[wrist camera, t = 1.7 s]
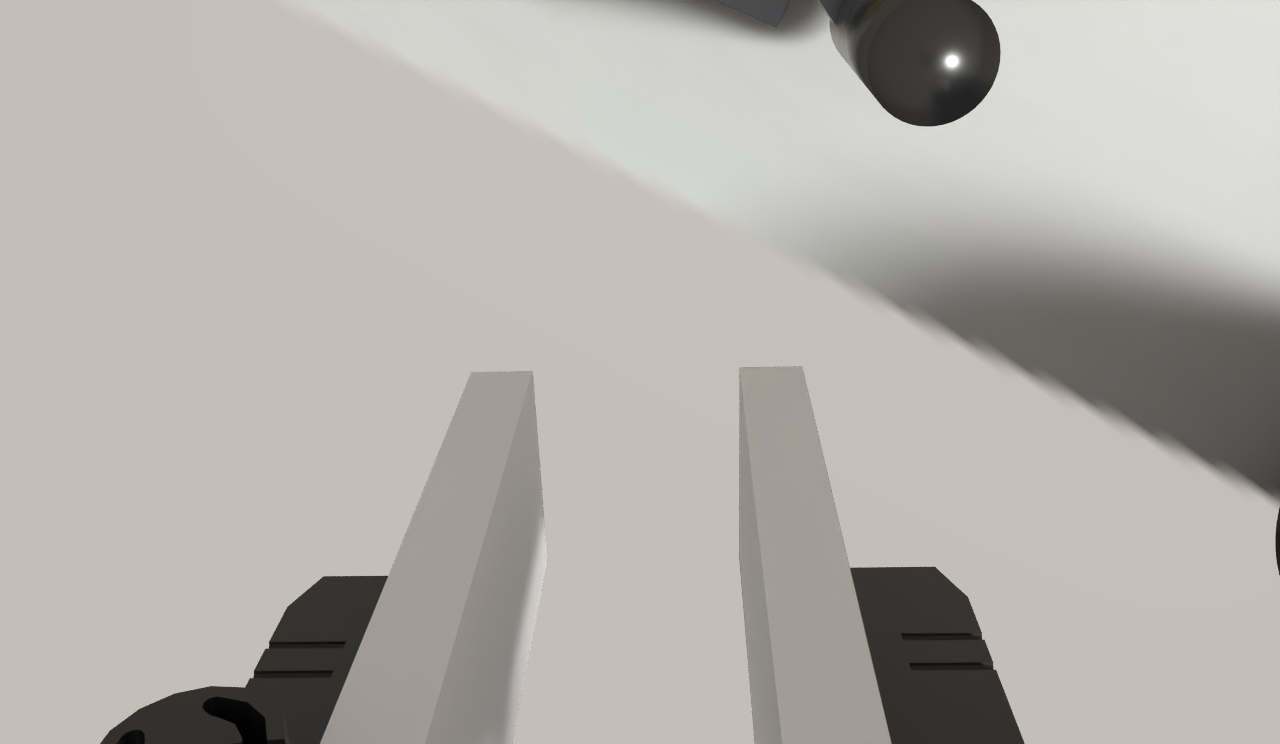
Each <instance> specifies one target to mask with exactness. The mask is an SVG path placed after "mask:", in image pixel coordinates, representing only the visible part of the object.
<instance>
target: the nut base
mask: <svg viewBox="0 0 1280 744" xmlns="http://www.w3.org/2000/svg"><path fill="white" fill-rule="evenodd" d="M717 1H719V2H721V3H723V4H726V5H728V6H730V7H732V8H735V9H737V10H739V11H741V12H743V13H746V14H748V15H750V16H752V17H754V18H757V19H759V20H761V21H763V22H765V23H768V24H770V25H772V26H774V27H776V28H777V26H778V24H779V22H780V20H781V18H782V16H783V13H784V11H785V9H786V7H787V5H788V2H789V0H717Z"/></svg>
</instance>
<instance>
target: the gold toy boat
mask: <svg viewBox="0 0 1280 744" xmlns="http://www.w3.org/2000/svg"><path fill="white" fill-rule="evenodd" d="M817 1H818V2H819V4H820V5H821V7H822V8H823V10H824V11H825V13H826V14H827V16H828V17H829V19H830V32H831V36H832V40H833V42H834V45H835V47H836V48H837V50H838V52H839V53H840V54H841V56H842V57H843V58H844V59H845V61H846V62H847V63H848V64H849V66H850V67H851V68H852V69H853V71H854V72H855V73H856V74H857V76H858V77H859V78H860V79H861V81H862V82H863V83H864V84H865V86H866V87H867V88H868V89H869V91H870V92H871V93H872V94H873V95H874V97H875V98H876V99H877V100H878V102H879V103H880V104H881V105H882V107H883V108H884V109H885V110H886V111H887V112H888V113H890V114H891V115H893V116H894V117H895V118H897V119H899V120H901V121H903V122H906V123H909V124H912V125H917V126H938V125H943V124H947V123H950V122H953V121H955V120H957V119H959V118H961V117H963V116H964V115H966V114H968V113H969V112H970V111H972V110H973V109H974V108H975V107H976V106H977V105H978V104H979V103H980V102H981V101H982V100H983V99H984V98H985V96H986V95H987V93H988V92H989V90H990V89H991V87H992V85H993V83H994V81H995V78H996V75H997V72H998V68H999V63H1000V42H999V37H998V34H997V31H996V28H995V26H994V24H993V22H992V20H991V19H990V17H989V16H988V14H987V13H986V12H985V11H984V10H983V9H982V8H981V7H980V6H979V5H977V4H976V3H975V2H973V1H972V0H817Z"/></svg>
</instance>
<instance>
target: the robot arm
mask: <svg viewBox="0 0 1280 744" xmlns="http://www.w3.org/2000/svg"><path fill="white" fill-rule="evenodd" d="M739 440H740V444H739V445H740V446H739V447H740V448H739V450H740V454H739V457H740V458H739V464H740V465H739V469H740V470H739V475H740V477H739V488H740V489H739V492H740V493H739V496H740V497H739V498H740V499H739V504H740V505H739V512H740V513H739V514H740V515H739V519H740V520H739V523H740V524H739V559H740V572H741V584H742V595H743V608H744V620H745V632H746V644H747V657H748V668H749V681H750V693H751V704H752V716H753V729H754V741H755V744H1024V741H1023V739H1022V736H1021V733H1020V731H1019V728H1018V726H1017V723H1016V721H1015V718H1014V716H1013V713H1012V710H1011V708H1010V705H1009V702H1008V700H1007V697H1006V694H1005V692H1004V689H1003V687H1002V684H1001V682H1000V679H999V677H998V674H997V671H996V670H994V669H993V661H992V658H991V656H990V653H989V651H988V648H987V645H986V643H985V640H982V632H981V630H980V627H979V625H978V622H977V620H976V617H975V614H974V612H973V609H972V607H971V604H970V602H969V599H968V597H967V596H966V595H965V594H964V593H963V592H962V591H961V590H959V589H958V588H957V587H956V586H955V585H954V584H953V583H952V582H951V581H950V580H949V579H947V578H946V577H945V576H944V575H943V574H942V573H941V572H940V571H939V570H938V569H937V568H936V567H885V568H884V567H883V568H882V567H881V568H880V567H878V568H850V566H849V562H848V558H847V554H846V550H845V546H844V541H843V537H842V533H841V529H840V524H839V520H838V516H837V512H836V507H835V503H834V499H833V495H832V490H831V486H830V482H829V478H828V474H827V469H826V465H825V461H824V457H823V453H822V448H821V444H820V440H819V436H818V431H817V427H816V423H815V419H814V414H813V410H812V406H811V402H810V398H809V394H808V390H807V385H806V381H805V376H804V372H803V368H802V367H745V368H740V438H739ZM1276 557H1277V565H1278V570H1279V575H1280V508H1279V513H1278V520H1277V527H1276ZM546 564H547V550H546V537H545V524H544V511H543V499H542V485H541V473H540V460H539V447H538V435H537V421H536V408H535V395H534V382H533V371H519V372H518V371H517V372H471V374H470V377H469V379H468V382H467V384H466V387H465V389H464V392H463V394H462V397H461V399H460V401H459V404H458V406H457V409H456V411H455V414H454V416H453V419H452V421H451V423H450V426H449V428H448V431H447V433H446V436H445V438H444V441H443V443H442V446H441V448H440V450H439V453H438V456H437V458H436V460H435V463H434V465H433V468H432V470H431V473H430V475H429V477H428V480H427V482H426V485H425V487H424V490H423V492H422V495H421V497H420V500H419V502H418V505H417V507H416V510H415V512H414V514H413V517H412V519H411V522H410V524H409V527H408V529H407V532H406V534H405V537H404V539H403V541H402V544H401V546H400V549H399V551H398V554H397V556H396V558H395V561H394V563H393V566H392V568H391V571H390V574H389V576H330V577H329V576H326V577H322V578H321V579H320V580H319V581H318V582H316V584H314V585H313V586H312V587H311V588H309V589H308V590H307V591H306V592H305V593H304V594H302V595H301V596H300V597H299V598H298V599H296V600H295V601H294V602H293V603H292V604H290V605H289V606H288V607H287V609H286V611H285V613H284V615H283V617H282V619H281V621H280V622H279V624H278V626H277V628H276V630H275V632H274V634H273V636H272V638H271V640H270V641H269V644H270V645H269V649H265V651H264V653H263V655H262V657H261V659H260V660H259V662H258V664H257V666H256V668H255V670H254V678H250V679H249V681H248V683H247V685H246V687H245V688H241V687H215V686H210V687H205V688H201V689H195V690H190V691H186V692H181V693H176V694H173V695H171V696H168V697H166V698H164V699H161V700H159V701H157V702H155V703H152V704H150V705H148V706H145V707H143V708H141V709H139V710H137V711H136V712H135V713H133V714H132V715H131V716H129V717H128V718H127V719H125V720H124V721H123V722H121V723H120V724H119V725H117V726H116V727H114V728H113V729H112V730H110V731H109V733H108V734H107V735H106V737H105V738H104V739H103V741H102V742H101V743H100V744H512V741H513V737H514V731H515V726H516V721H517V716H518V711H519V705H520V700H521V694H522V689H523V684H524V679H525V674H526V668H527V663H528V658H529V653H530V648H531V643H532V637H533V632H534V627H535V621H536V616H537V611H538V606H539V600H540V595H541V589H542V584H543V579H544V574H545V569H546Z"/></svg>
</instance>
